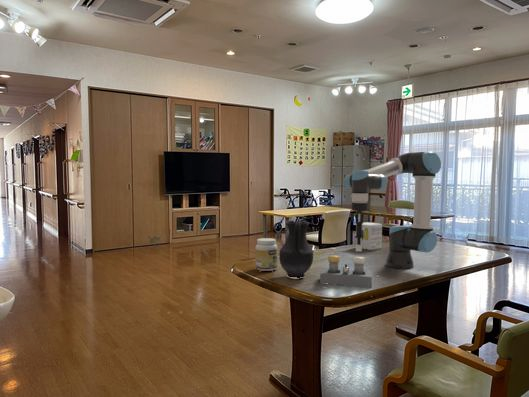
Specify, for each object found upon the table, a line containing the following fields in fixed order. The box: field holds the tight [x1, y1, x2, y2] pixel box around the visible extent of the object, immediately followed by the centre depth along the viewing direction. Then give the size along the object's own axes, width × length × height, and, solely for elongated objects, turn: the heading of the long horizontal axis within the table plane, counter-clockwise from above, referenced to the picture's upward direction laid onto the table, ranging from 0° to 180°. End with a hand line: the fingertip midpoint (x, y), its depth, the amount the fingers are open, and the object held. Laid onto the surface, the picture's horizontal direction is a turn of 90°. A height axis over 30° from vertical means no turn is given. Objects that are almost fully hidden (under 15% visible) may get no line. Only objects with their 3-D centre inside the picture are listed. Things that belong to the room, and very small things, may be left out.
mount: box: [319, 267, 373, 288], centre depth 193 cm, size 24×12×5 cm, turn 75°
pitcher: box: [278, 220, 314, 278], centre depth 200 cm, size 17×21×30 cm
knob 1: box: [327, 254, 340, 273], centre depth 194 cm, size 5×5×8 cm
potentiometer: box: [342, 263, 350, 274], centre depth 190 cm, size 3×3×4 cm
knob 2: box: [352, 256, 366, 274], centre depth 191 cm, size 5×5×8 cm
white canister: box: [355, 221, 383, 251], centre depth 281 cm, size 13×13×18 cm
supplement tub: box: [255, 237, 278, 270], centre depth 218 cm, size 12×12×17 cm
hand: (358, 250), depth 190 cm, fingers closed
